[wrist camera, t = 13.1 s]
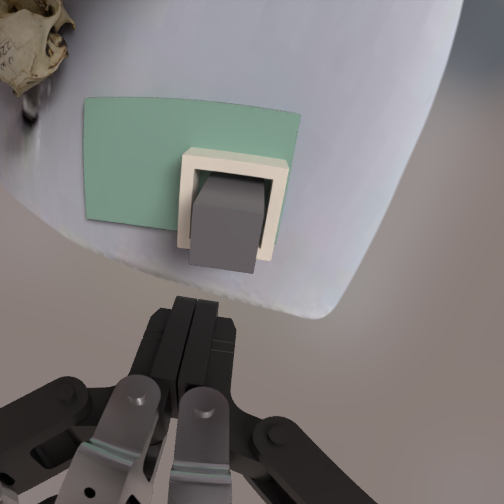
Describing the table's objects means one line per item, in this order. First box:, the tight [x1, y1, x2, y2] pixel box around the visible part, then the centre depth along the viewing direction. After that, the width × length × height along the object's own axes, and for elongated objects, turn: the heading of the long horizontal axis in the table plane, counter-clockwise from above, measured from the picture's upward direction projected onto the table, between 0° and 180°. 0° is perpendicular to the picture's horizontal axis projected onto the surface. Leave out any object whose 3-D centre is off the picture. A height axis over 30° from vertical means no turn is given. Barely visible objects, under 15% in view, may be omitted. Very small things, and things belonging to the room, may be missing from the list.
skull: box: [0, 0, 75, 98], centre depth 15 cm, size 10×16×10 cm, turn 13°
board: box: [83, 97, 301, 245], centre depth 26 cm, size 12×19×1 cm, turn 82°
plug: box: [189, 171, 264, 274], centre depth 24 cm, size 5×4×8 cm
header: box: [177, 147, 289, 261], centre depth 26 cm, size 8×8×3 cm
